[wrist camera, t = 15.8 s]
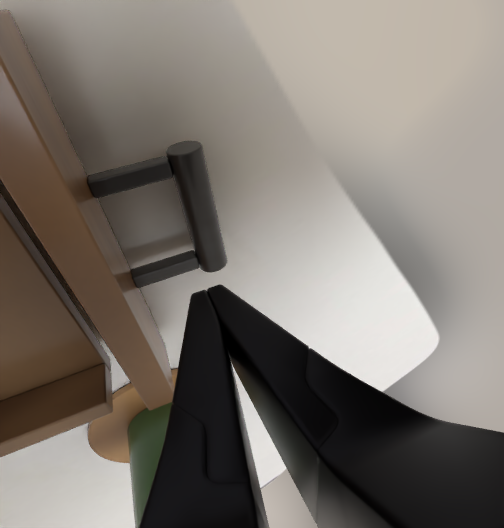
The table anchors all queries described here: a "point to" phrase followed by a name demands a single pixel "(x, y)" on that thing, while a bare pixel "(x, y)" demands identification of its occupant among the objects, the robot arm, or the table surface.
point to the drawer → (78, 265)
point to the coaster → (117, 424)
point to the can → (145, 452)
